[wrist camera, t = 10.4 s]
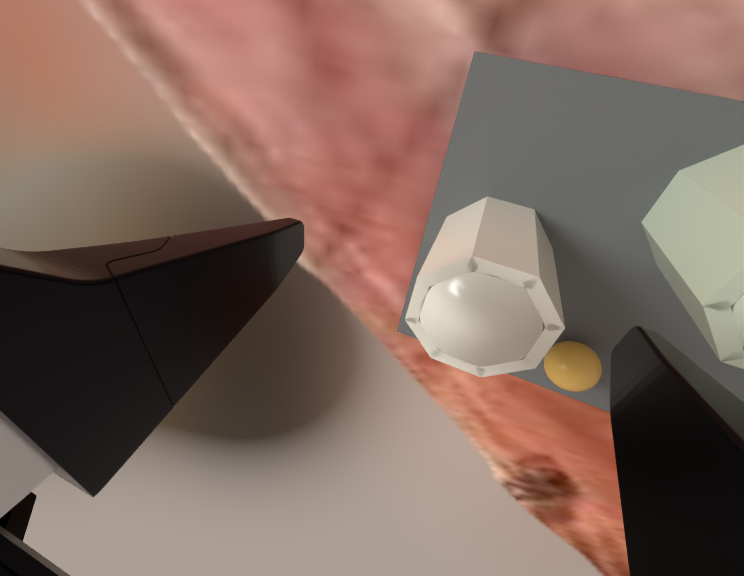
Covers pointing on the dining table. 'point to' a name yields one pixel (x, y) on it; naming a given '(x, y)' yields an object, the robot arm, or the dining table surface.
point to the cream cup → (488, 291)
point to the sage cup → (705, 247)
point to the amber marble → (572, 366)
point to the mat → (586, 193)
